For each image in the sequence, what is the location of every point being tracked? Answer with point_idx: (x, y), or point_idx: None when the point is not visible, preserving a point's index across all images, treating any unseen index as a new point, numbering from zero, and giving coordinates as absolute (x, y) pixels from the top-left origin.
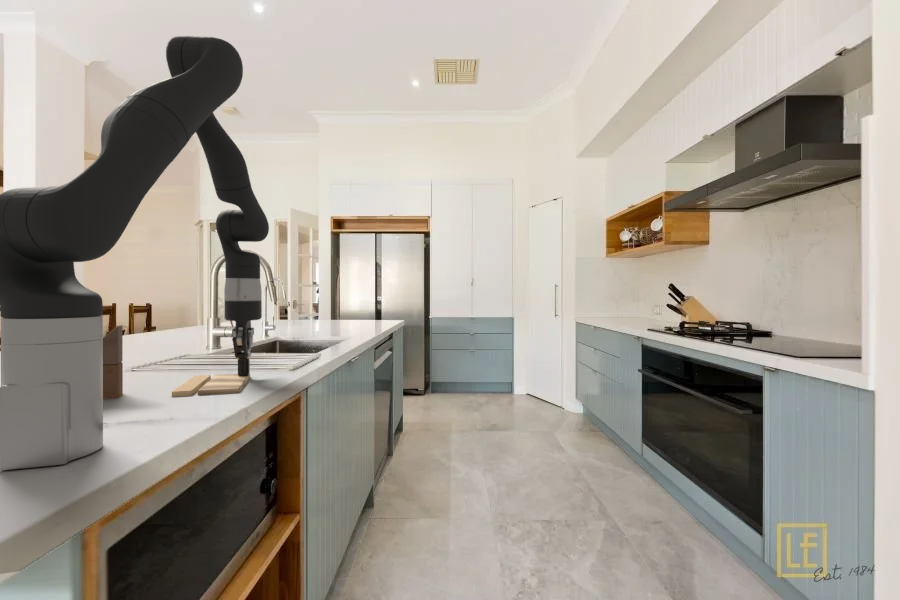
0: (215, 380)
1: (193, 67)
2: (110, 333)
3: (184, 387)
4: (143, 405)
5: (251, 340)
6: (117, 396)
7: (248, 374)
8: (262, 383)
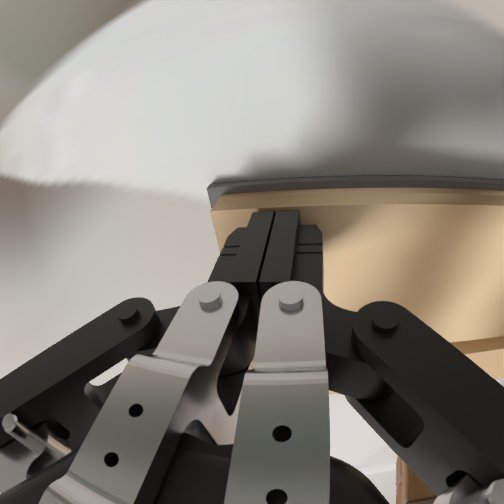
0: None
1: None
2: None
3: None
4: (499, 382)
5: (234, 466)
6: None
7: (246, 213)
8: (310, 102)
